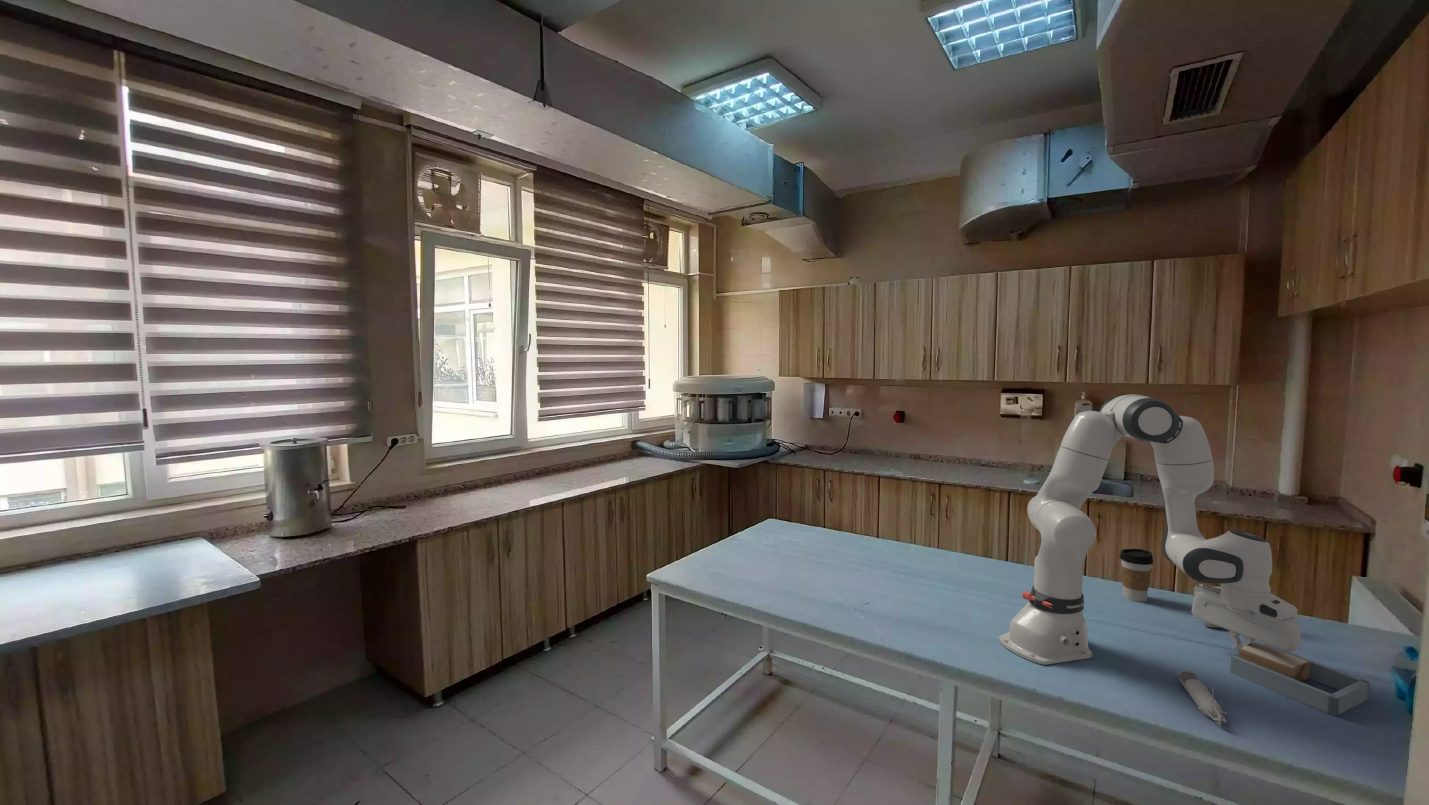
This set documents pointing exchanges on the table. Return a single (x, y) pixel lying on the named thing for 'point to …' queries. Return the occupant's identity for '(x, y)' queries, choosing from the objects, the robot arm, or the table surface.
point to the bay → (1333, 704)
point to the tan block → (1276, 661)
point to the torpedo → (1201, 696)
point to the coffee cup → (1136, 573)
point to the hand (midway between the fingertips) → (1241, 650)
